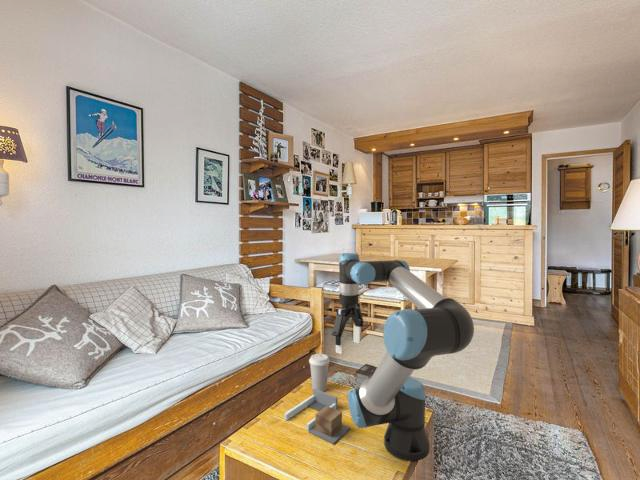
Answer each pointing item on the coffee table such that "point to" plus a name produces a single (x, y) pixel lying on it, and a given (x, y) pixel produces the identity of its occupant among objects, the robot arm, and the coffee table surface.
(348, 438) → the coffee table surface
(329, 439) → the slate coaster
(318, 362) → the coffee cup
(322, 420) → the walnut block
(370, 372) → the coffee box
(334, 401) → the channel
